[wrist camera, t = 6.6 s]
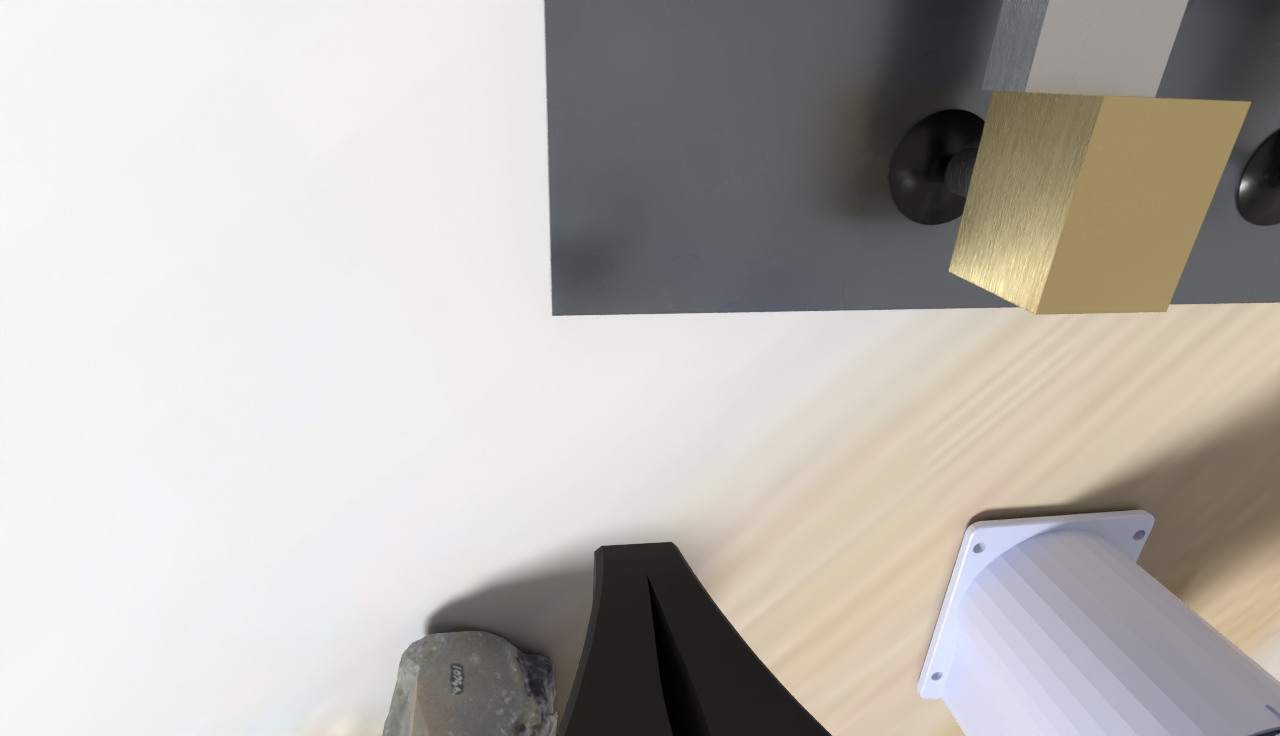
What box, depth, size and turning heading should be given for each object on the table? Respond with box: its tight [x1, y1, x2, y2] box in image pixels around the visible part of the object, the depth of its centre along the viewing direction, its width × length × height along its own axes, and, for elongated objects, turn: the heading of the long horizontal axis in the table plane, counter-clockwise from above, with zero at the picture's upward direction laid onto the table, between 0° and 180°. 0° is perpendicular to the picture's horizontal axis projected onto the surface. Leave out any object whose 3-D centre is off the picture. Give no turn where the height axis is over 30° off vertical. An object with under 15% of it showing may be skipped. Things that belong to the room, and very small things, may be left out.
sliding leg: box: [945, 0, 1251, 314], centre depth 13 cm, size 9×3×5 cm, turn 178°
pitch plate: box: [544, 0, 1280, 316], centre depth 15 cm, size 12×25×7 cm, turn 88°
